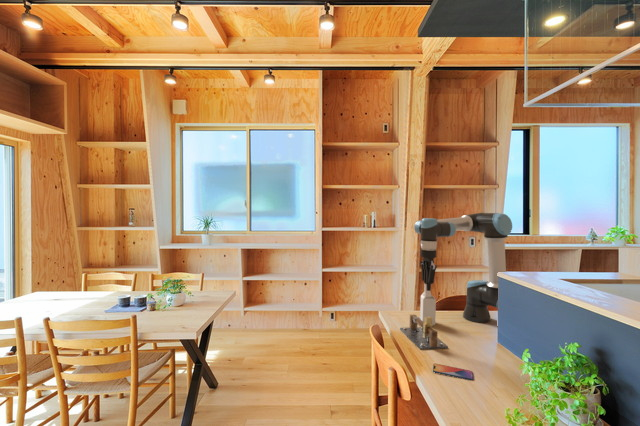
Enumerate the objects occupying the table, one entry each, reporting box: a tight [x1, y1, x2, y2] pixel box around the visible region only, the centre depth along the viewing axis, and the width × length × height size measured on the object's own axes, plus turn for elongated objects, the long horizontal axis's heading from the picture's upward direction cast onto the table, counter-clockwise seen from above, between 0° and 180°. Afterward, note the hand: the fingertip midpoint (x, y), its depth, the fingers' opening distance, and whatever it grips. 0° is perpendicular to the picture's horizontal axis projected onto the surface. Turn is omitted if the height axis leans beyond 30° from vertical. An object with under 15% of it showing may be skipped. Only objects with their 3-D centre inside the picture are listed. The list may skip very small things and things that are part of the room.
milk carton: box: [419, 292, 437, 326], centre depth 191 cm, size 7×7×19 cm
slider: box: [423, 317, 433, 341], centre depth 162 cm, size 4×2×11 cm, turn 98°
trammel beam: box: [409, 314, 438, 347], centre depth 168 cm, size 3×25×7 cm, turn 8°
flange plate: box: [399, 326, 449, 350], centre depth 169 cm, size 14×25×2 cm, turn 8°
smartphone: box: [432, 363, 474, 381], centre depth 134 cm, size 7×15×1 cm, turn 68°
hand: (427, 296), depth 164 cm, fingers closed
